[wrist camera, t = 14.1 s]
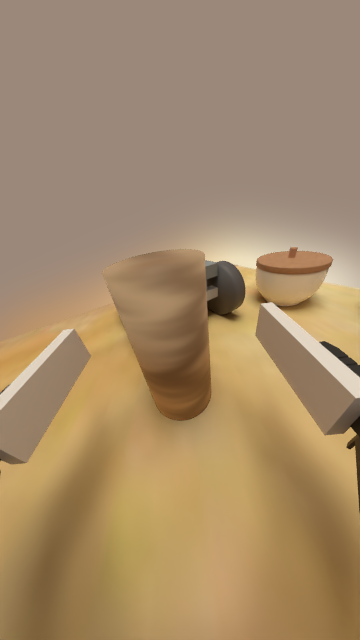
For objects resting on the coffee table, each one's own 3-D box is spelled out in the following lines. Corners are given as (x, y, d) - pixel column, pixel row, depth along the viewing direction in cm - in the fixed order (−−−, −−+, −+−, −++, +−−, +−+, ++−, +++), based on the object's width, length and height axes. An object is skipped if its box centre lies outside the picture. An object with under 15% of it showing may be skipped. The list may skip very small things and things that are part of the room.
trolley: (153, 365, 21) (132, 302, 16) (121, 312, 36) (104, 270, 30) (242, 317, 28) (248, 261, 22) (184, 289, 42) (179, 250, 37)
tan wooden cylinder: (171, 435, 14) (114, 289, 6) (145, 384, 19) (95, 266, 11) (224, 395, 16) (228, 253, 9) (189, 358, 21) (172, 247, 14)
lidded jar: (330, 300, 28) (354, 243, 23) (289, 320, 25) (307, 259, 20) (276, 284, 37) (285, 240, 32) (240, 297, 34) (244, 251, 29)
